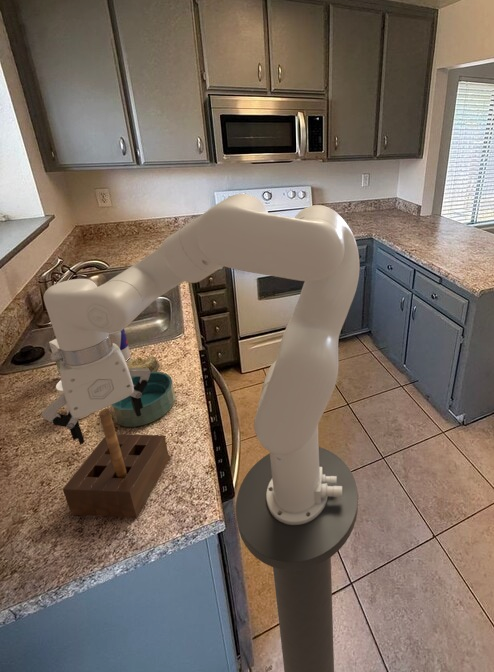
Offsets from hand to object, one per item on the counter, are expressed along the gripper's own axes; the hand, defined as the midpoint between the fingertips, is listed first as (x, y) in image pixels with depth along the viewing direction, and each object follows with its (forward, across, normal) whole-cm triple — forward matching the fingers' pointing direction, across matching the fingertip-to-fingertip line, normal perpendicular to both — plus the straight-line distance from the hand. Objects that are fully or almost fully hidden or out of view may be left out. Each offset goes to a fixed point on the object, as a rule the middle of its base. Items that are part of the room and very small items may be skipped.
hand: (110, 425), depth 68 cm
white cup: (+19, -3, +37) cm, 41 cm away
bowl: (+19, +10, +26) cm, 34 cm away
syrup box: (+19, -2, +54) cm, 58 cm away
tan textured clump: (+19, +14, +44) cm, 50 cm away
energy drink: (+19, +11, +55) cm, 59 cm away
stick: (+19, 0, +1) cm, 19 cm away
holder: (+19, 0, +4) cm, 19 cm away
